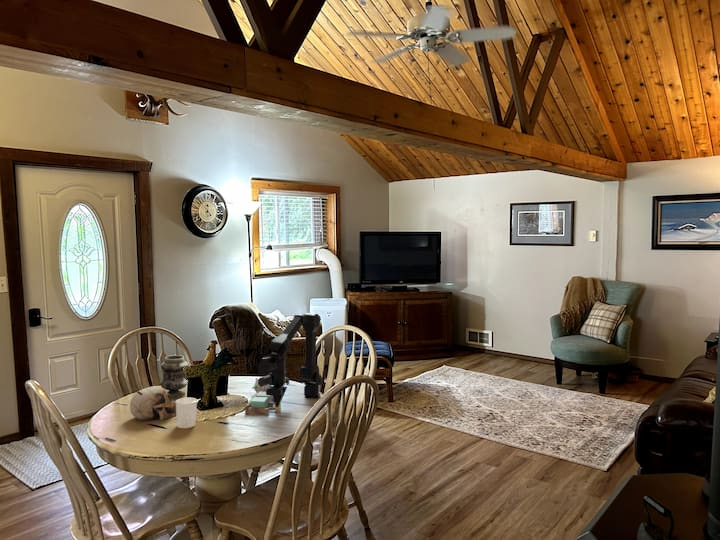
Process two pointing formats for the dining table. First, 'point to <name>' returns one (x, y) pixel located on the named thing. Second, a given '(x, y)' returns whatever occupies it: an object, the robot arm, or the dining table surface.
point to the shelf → (258, 410)
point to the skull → (152, 404)
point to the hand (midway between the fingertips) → (277, 405)
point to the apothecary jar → (174, 375)
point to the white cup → (186, 412)
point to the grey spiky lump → (258, 388)
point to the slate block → (263, 394)
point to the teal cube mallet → (263, 404)
